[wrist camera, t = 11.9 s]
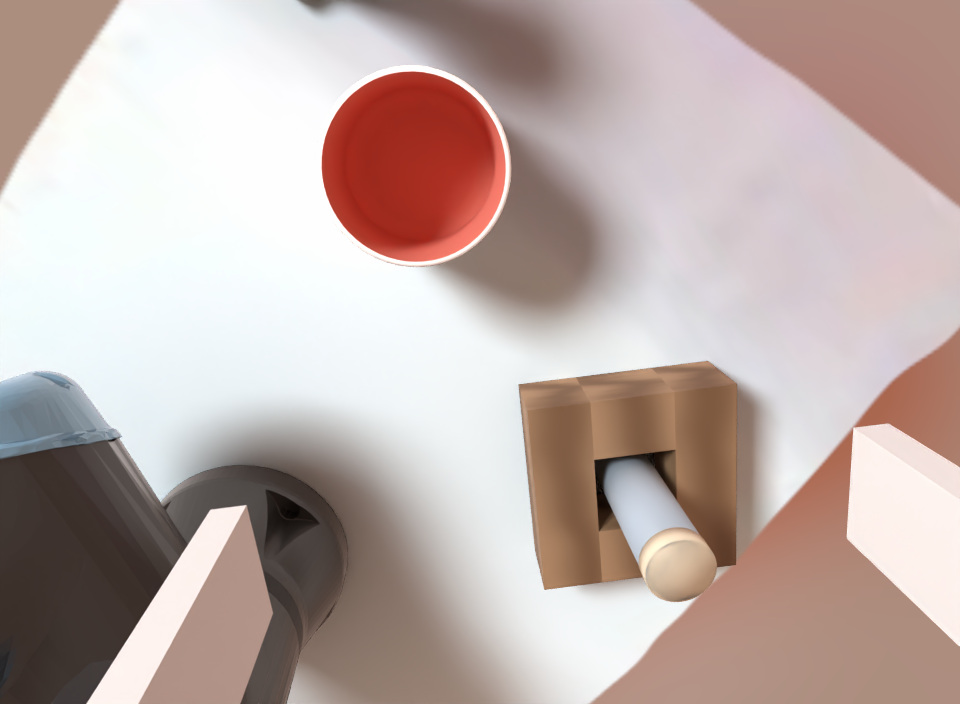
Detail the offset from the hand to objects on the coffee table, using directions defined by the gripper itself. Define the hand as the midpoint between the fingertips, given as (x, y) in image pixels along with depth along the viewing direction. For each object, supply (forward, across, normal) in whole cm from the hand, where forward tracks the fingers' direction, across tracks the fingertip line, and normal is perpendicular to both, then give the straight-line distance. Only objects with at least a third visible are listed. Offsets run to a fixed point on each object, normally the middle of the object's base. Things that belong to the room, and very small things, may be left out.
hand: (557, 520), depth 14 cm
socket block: (+33, +9, -16) cm, 38 cm away
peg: (+33, +9, -16) cm, 37 cm away
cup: (+33, -3, +7) cm, 34 cm away
